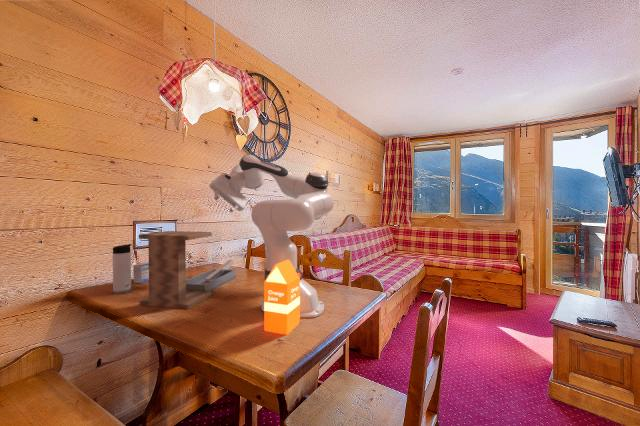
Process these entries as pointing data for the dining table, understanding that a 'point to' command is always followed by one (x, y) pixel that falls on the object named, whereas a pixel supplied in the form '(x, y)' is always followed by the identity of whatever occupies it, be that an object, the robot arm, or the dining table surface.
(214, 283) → the blue-gray tray
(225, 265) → the bar
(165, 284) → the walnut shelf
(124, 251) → the travel mug
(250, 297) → the dining table surface
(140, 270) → the medicine box
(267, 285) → the orange juice
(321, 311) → the robot arm
